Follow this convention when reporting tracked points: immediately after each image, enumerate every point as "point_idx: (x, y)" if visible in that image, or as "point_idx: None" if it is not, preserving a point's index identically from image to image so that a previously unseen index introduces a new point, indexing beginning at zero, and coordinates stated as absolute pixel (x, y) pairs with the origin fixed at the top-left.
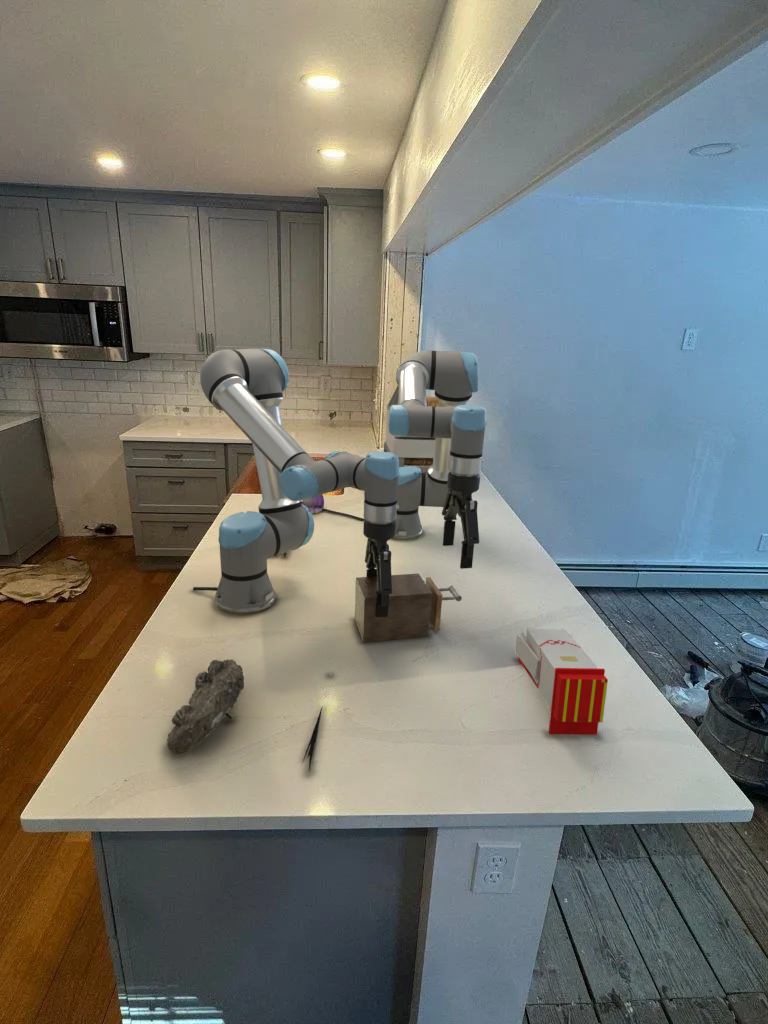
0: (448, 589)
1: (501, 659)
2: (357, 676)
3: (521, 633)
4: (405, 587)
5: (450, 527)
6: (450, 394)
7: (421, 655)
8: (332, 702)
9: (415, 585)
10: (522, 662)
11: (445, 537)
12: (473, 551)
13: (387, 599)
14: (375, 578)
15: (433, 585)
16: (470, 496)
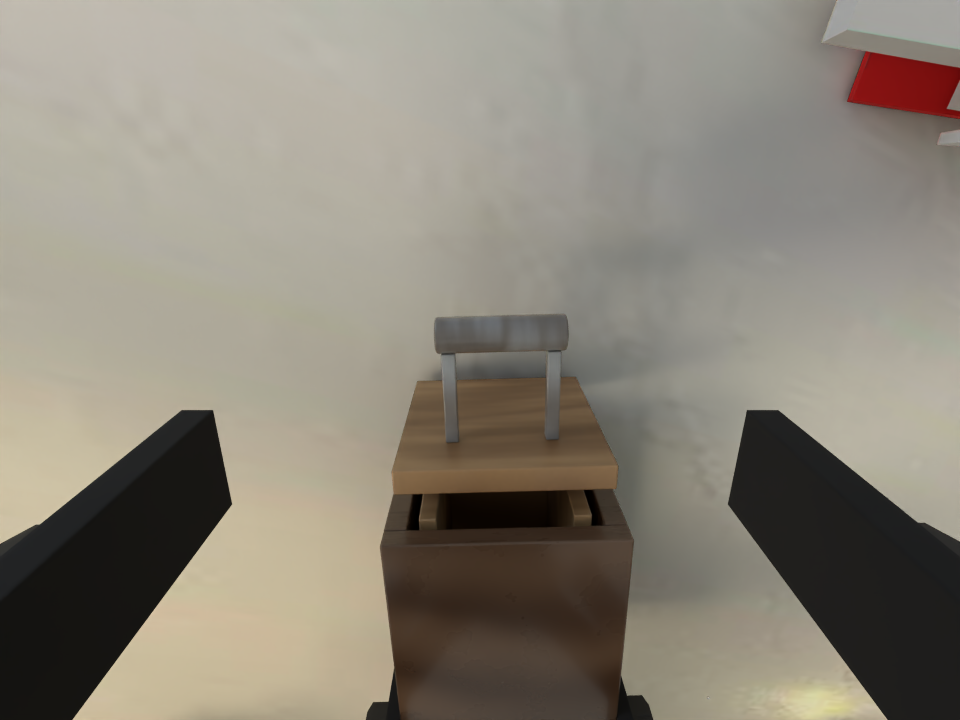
0: (454, 357)
1: (814, 178)
2: (731, 640)
3: (841, 34)
4: (542, 638)
5: (68, 621)
6: None
7: (689, 464)
8: (811, 698)
9: (529, 592)
10: (922, 108)
11: (180, 557)
12: (920, 527)
13: (630, 712)
14: None
15: (500, 482)
16: None
